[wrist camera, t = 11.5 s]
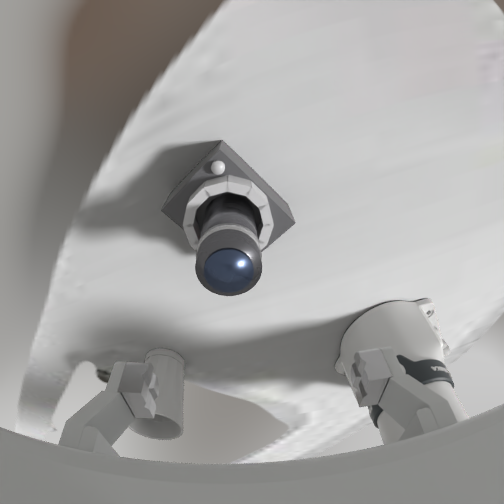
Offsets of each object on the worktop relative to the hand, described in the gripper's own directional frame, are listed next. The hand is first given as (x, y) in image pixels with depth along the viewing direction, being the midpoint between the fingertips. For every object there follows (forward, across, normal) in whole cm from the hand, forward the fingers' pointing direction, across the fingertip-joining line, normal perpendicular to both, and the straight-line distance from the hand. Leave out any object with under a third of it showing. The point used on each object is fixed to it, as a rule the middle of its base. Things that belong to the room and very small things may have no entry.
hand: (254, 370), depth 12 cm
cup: (+25, +14, +27) cm, 39 cm away
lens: (+20, +2, +2) cm, 20 cm away
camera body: (+25, +2, +2) cm, 25 cm away
